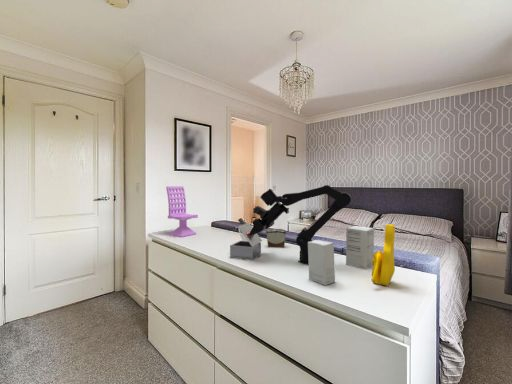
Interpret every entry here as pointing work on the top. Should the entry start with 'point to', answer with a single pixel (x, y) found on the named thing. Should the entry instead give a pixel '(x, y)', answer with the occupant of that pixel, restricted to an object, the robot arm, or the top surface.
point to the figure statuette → (384, 259)
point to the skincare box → (321, 261)
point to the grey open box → (245, 250)
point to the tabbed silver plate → (246, 229)
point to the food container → (276, 238)
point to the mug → (243, 236)
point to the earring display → (182, 217)
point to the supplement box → (359, 246)
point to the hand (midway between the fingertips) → (252, 233)
